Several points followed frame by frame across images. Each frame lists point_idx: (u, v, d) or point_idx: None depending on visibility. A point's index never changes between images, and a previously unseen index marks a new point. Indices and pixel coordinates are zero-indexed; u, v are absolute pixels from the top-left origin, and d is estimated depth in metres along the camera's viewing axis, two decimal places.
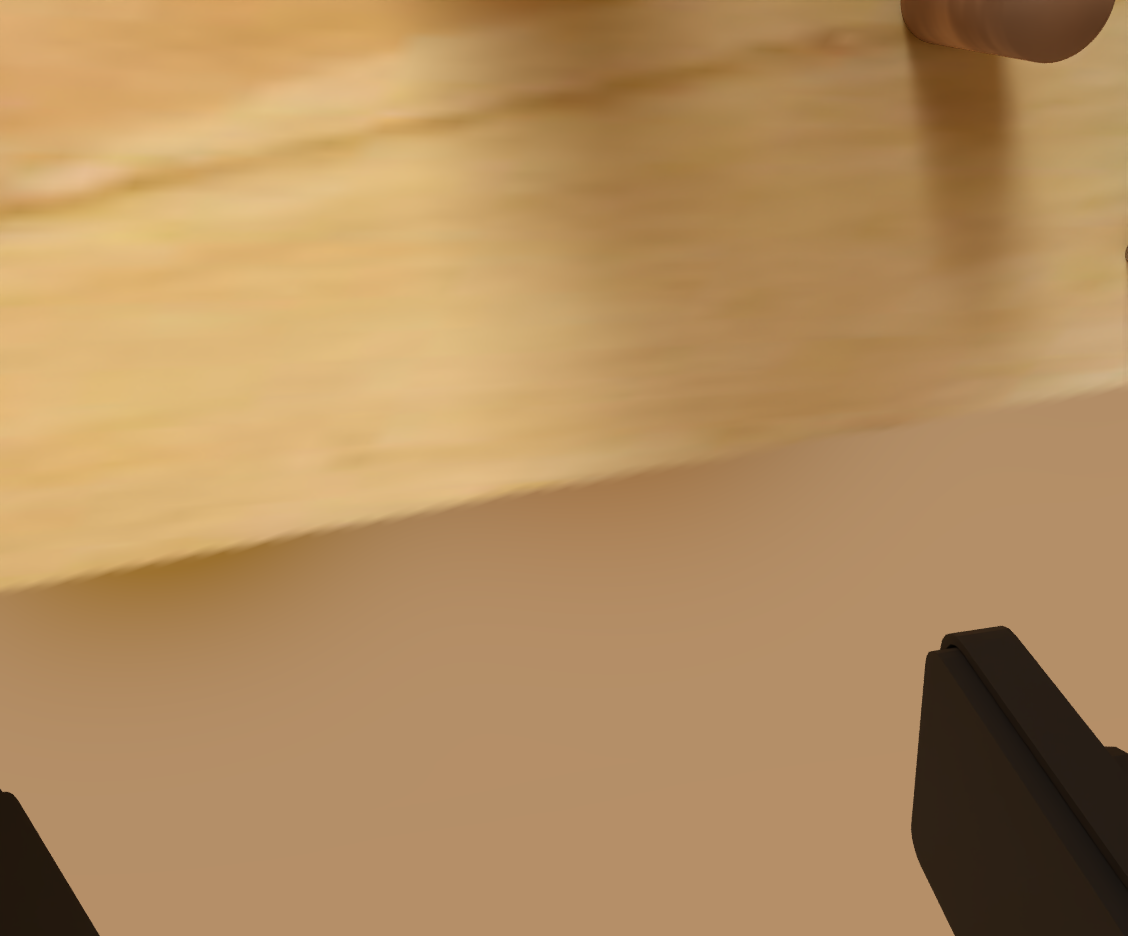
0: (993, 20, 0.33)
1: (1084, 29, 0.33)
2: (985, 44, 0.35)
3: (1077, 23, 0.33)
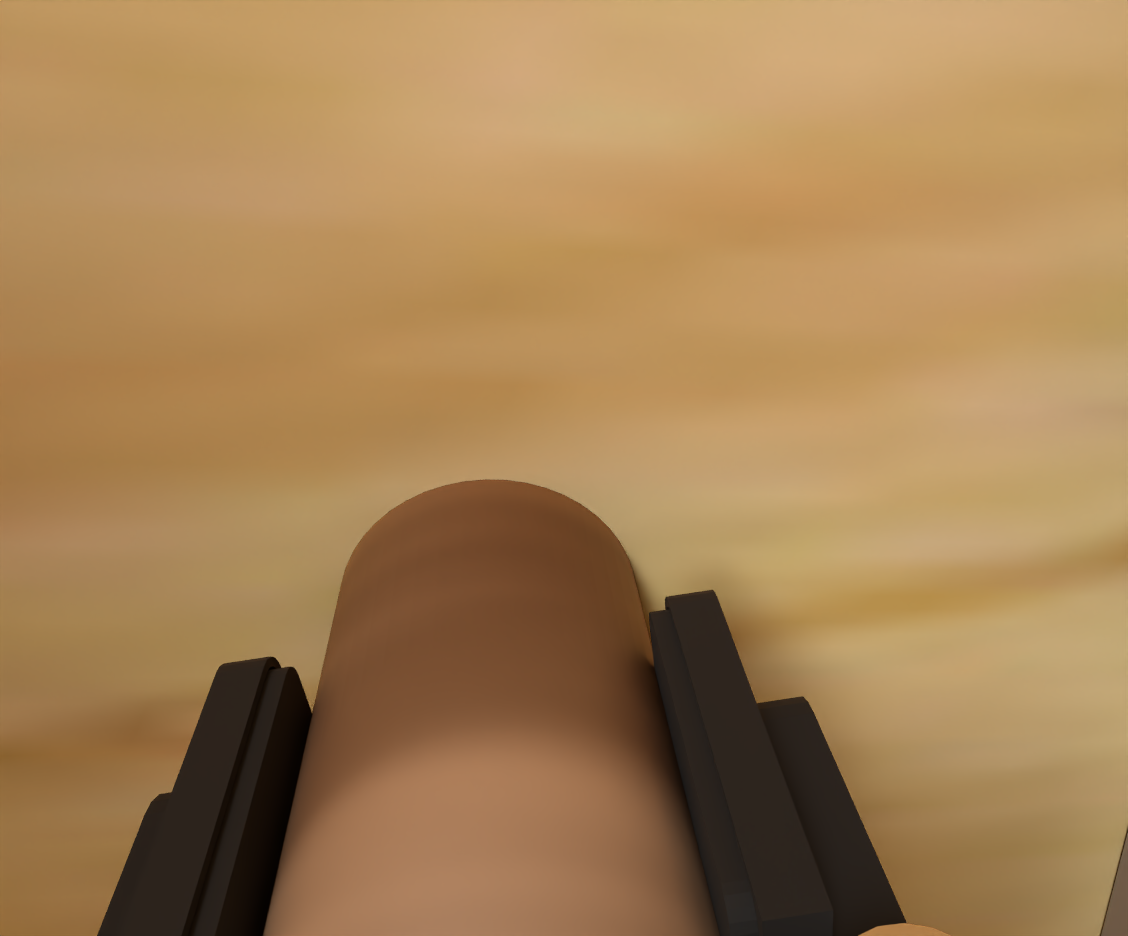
0: None
1: None
2: None
3: None
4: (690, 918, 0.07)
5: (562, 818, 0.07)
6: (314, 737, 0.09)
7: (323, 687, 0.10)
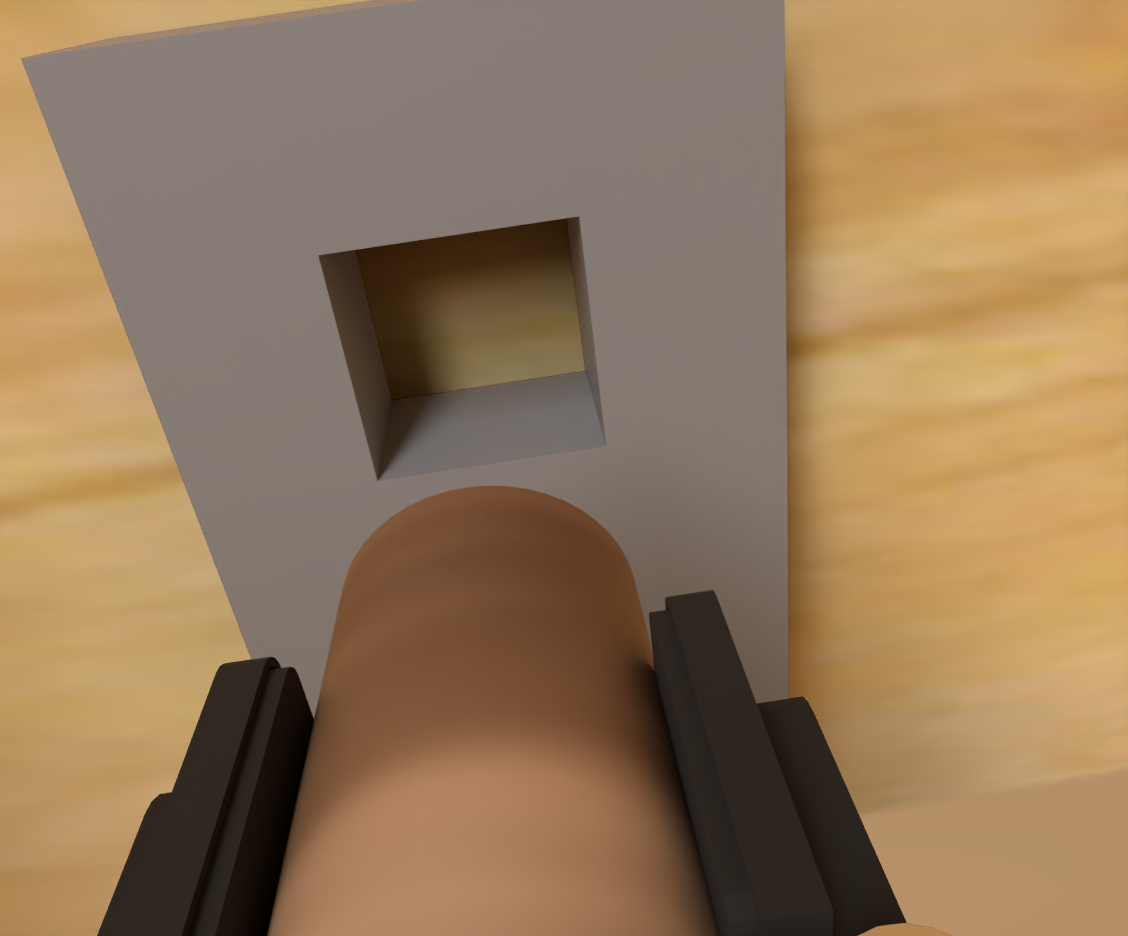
0: None
1: None
2: None
3: None
4: (692, 927, 0.07)
5: (565, 827, 0.07)
6: (316, 745, 0.09)
7: (324, 694, 0.10)
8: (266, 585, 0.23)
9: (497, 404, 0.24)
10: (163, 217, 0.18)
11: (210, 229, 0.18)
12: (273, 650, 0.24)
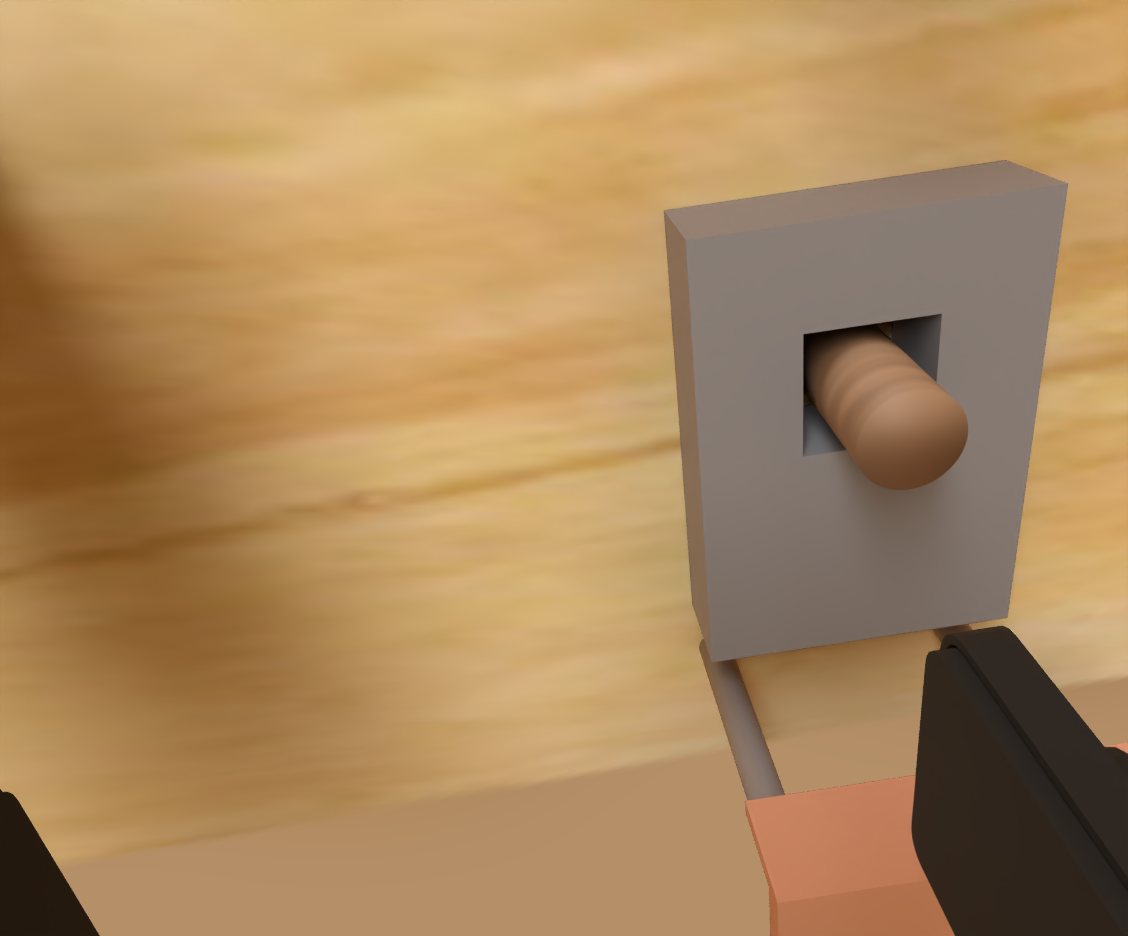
0: (851, 450, 0.34)
1: (938, 462, 0.33)
2: None
3: (931, 458, 0.33)
4: None
5: (896, 350, 0.35)
6: (819, 355, 0.37)
7: (811, 349, 0.38)
8: (726, 517, 0.39)
9: None
10: (730, 315, 0.35)
11: (752, 321, 0.35)
12: (719, 557, 0.40)
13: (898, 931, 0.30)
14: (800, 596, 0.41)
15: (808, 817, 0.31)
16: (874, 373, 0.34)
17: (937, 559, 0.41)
